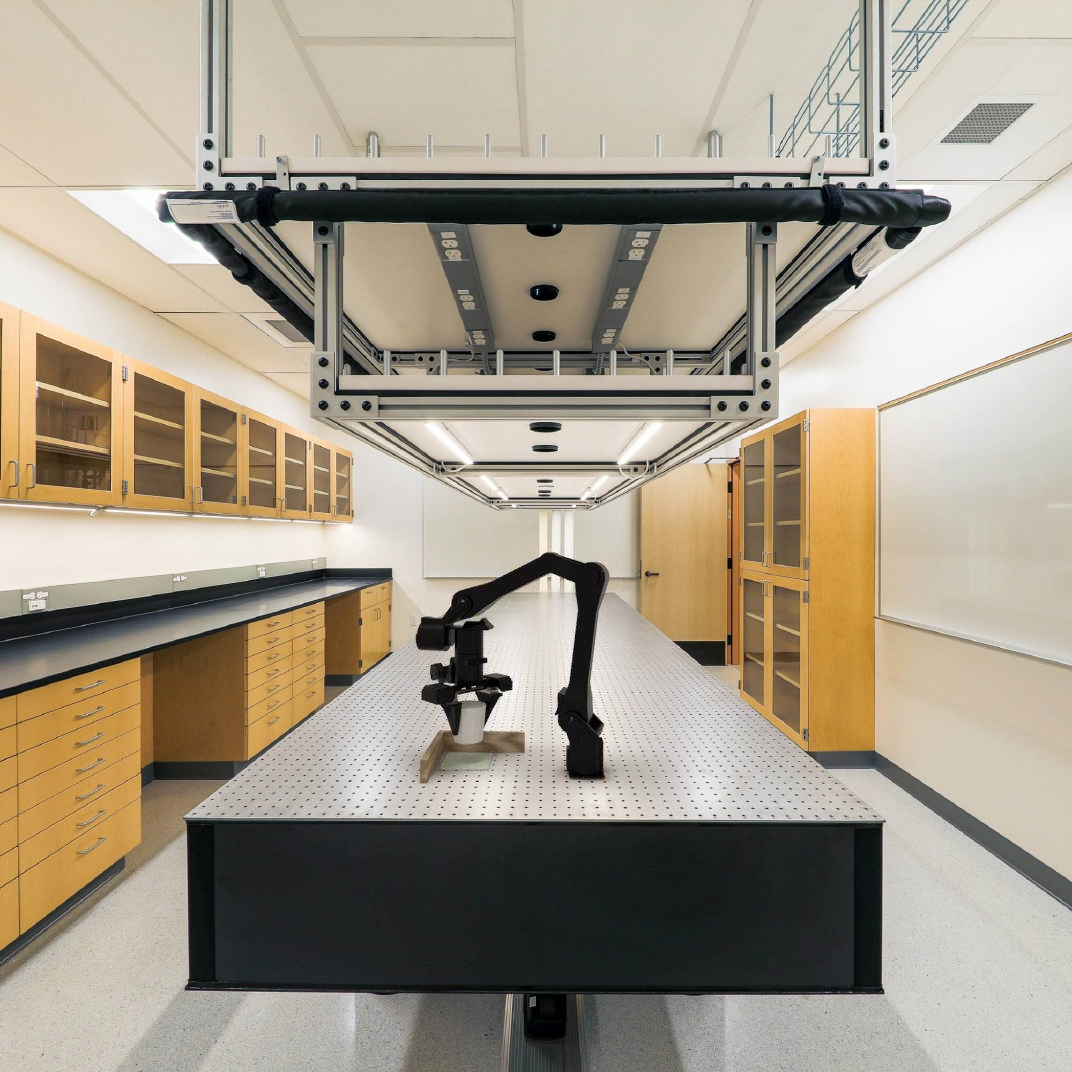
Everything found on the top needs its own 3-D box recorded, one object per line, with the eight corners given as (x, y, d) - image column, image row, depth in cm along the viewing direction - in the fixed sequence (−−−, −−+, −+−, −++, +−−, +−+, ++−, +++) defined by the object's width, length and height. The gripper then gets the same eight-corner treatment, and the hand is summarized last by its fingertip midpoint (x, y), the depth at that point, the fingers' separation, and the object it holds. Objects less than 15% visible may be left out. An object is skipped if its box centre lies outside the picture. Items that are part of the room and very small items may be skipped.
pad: (492, 754, 121) (492, 753, 121) (487, 770, 112) (487, 768, 112) (448, 753, 121) (448, 752, 122) (440, 769, 112) (440, 768, 113)
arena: (524, 750, 124) (524, 731, 124) (520, 784, 106) (520, 761, 106) (438, 749, 124) (439, 730, 124) (419, 782, 106) (420, 760, 106)
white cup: (468, 732, 122) (469, 698, 122) (493, 739, 117) (493, 703, 118) (443, 740, 116) (443, 704, 117) (467, 747, 112) (468, 710, 112)
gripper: (480, 643, 130) (480, 715, 129) (406, 652, 117) (405, 732, 116) (514, 649, 122) (514, 725, 121) (438, 659, 109) (437, 745, 108)
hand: (468, 731), depth 117 cm, fingers closed on white cup, 6 cm apart
